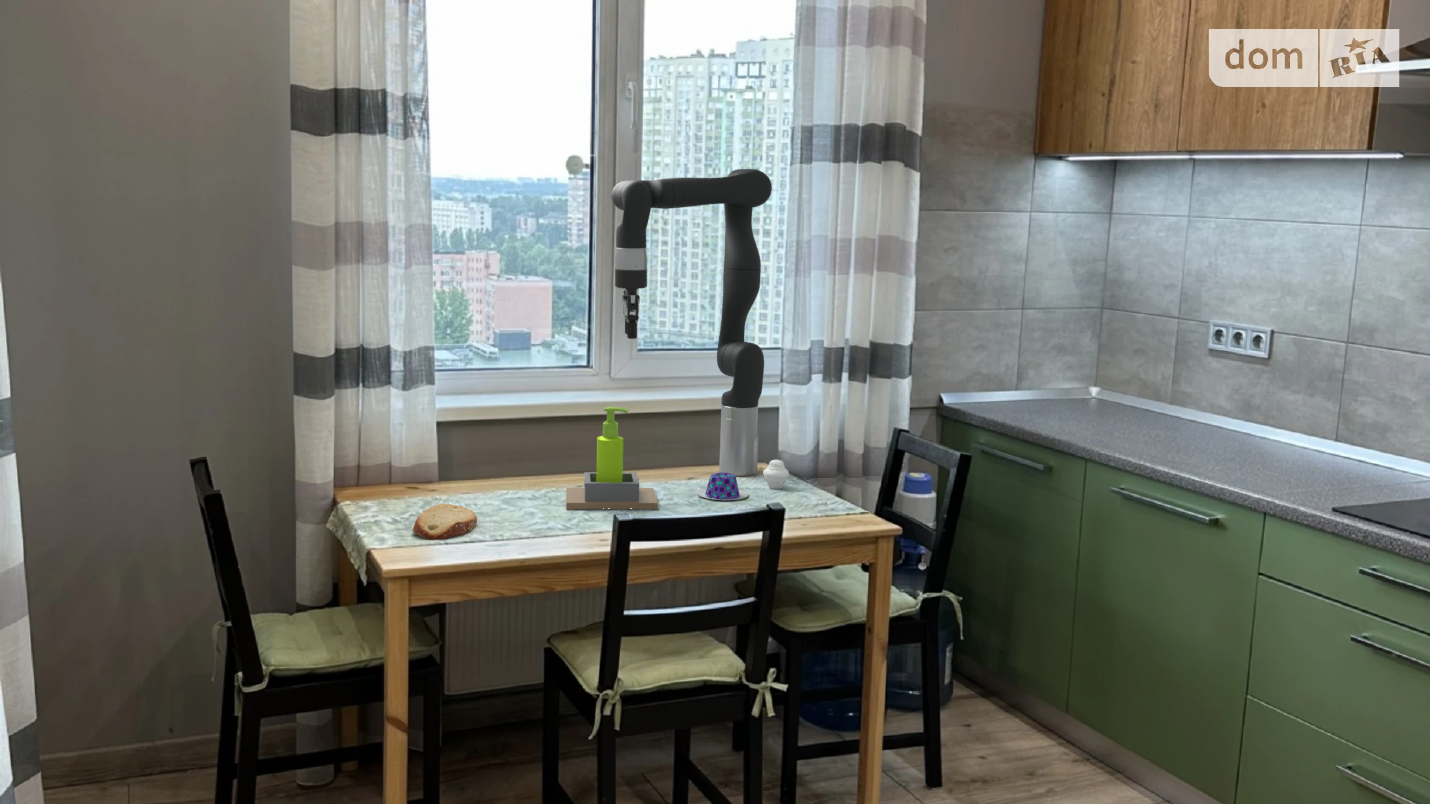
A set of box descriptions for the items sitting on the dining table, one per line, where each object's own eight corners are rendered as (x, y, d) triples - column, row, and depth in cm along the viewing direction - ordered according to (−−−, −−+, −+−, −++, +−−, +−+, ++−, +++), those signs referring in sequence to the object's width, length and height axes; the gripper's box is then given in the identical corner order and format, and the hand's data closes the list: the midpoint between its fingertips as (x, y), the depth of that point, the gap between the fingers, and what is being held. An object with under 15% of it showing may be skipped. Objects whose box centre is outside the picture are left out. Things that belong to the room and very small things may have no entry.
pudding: (690, 500, 283) (691, 477, 282) (705, 488, 294) (705, 467, 293) (740, 505, 280) (741, 482, 279) (753, 493, 291) (754, 471, 290)
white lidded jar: (788, 485, 299) (790, 457, 298) (787, 491, 293) (789, 462, 292) (763, 484, 300) (764, 455, 299) (761, 489, 294) (763, 461, 293)
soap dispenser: (625, 498, 275) (627, 410, 271) (594, 497, 275) (596, 409, 271) (627, 492, 280) (629, 406, 277) (597, 491, 280) (599, 404, 277)
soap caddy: (653, 494, 286) (653, 471, 285) (657, 509, 272) (658, 485, 271) (566, 494, 283) (566, 470, 282) (566, 509, 270) (566, 485, 269)
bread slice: (454, 511, 267) (454, 494, 266) (505, 528, 255) (505, 510, 254) (381, 525, 254) (380, 508, 253) (431, 544, 242) (430, 525, 241)
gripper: (649, 269, 281) (649, 340, 284) (644, 265, 295) (644, 332, 298) (616, 269, 280) (616, 340, 283) (613, 265, 294) (613, 332, 297)
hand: (630, 336), depth 290 cm, fingers open, 8 cm apart
